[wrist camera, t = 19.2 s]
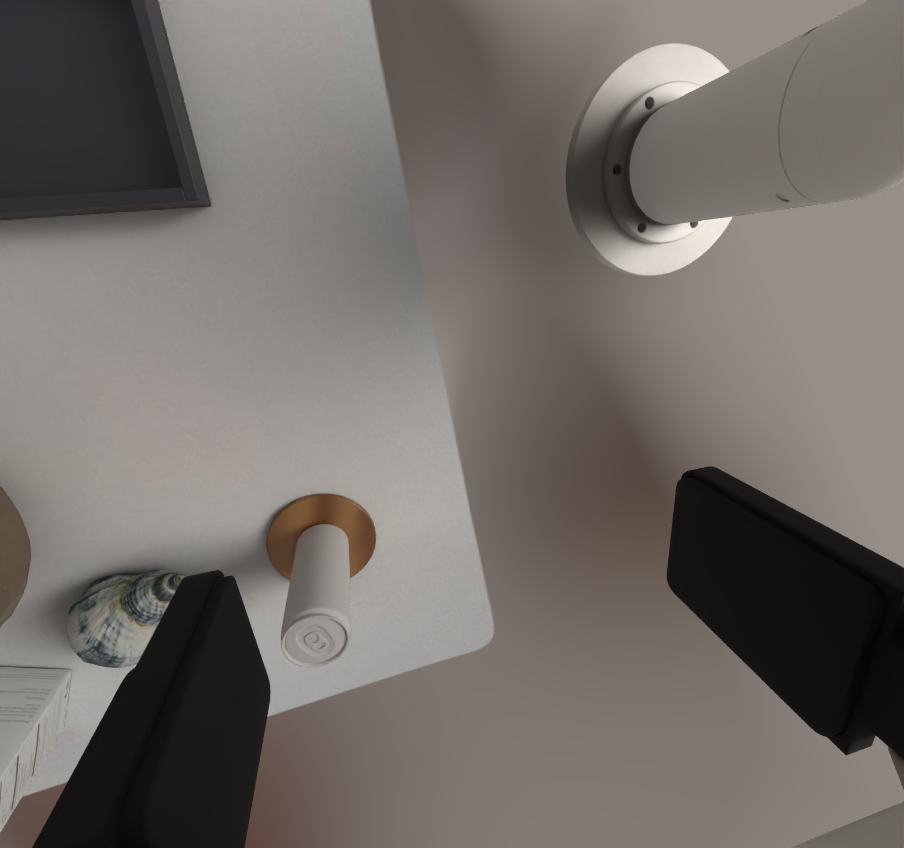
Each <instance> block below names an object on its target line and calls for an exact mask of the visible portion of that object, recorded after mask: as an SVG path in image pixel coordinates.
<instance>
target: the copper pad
mask: <svg viewBox="0 0 904 848" xmlns="http://www.w3.org/2000/svg"><path fill="white" fill-rule="evenodd" d="M320 524H330V525H334V526H337V527H339V528H340V529H342V530H343V531H344V532H345V533H346V535H347V538H348V542H349V567H350V578H351V577H352V576H354V575H355V574H357V573H358V572H359V571H360V570H362V569H363V567H364V566H365V565H366V564H367V563H368V561H369V560H370V558H371V556H372V554H373V551H374V549H375V544H376V534H375V527H374V524H373V521H372V519H371V517H370V516H369V514H368V513H367V512H366V511H365V509H364V508H363V507H361V506H360V505H359V504H357V503H356V502H354V501H353V500H351V499H348V498H346V497H343V496H339V495H334V494H316V495H310V496H306V497H303V498H301V499H298V500H296V501H294V502H292V503H291V504H289V505H288V506H286V507H285V508H284V509H283V510H282V511H281V512H280V513H279V514H278V515H277V516H276V518H275V519H274V521H273V522H272V524H271V526H270V529H269V533H268V536H267V551H268V555H269V558H270V560H271V562H272V564H273V565H274V567H275V568H276V569H277V570H278V571H279V572H280V573H281V574H282V575H284V576H285V577H286V578H288V579H291V573H292V568H293V562H294V556H295V550H296V545H297V541H298V539H299V537H300V536H301V534H302V533H303V532H304V531H306V530H307V529H308V528H310V527H312V526H315V525H320Z"/></svg>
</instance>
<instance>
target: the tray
mask: <svg viewBox="0 0 904 848" xmlns="http://www.w3.org/2000/svg"><path fill="white" fill-rule="evenodd" d="M205 206H211V202H210V199H209V195H208V191H207V187H206V183H205V179H204V175H203V172H202V168H201V164H200V160H199V156H198V152H197V149H196V145H195V141H194V137H193V133H192V129H191V126H190V122H189V118H188V114H187V110H186V106H185V103H184V99H183V95H182V91H181V87H180V83H179V79H178V76H177V72H176V68H175V64H174V60H173V56H172V53H171V49H170V45H169V41H168V37H167V33H166V30H165V26H164V22H163V18H162V14H161V10H160V6H159V3H158V0H0V220H10V219H25V218H40V217H55V216H70V215H85V214H100V213H115V212H130V211H145V210H160V209H175V208H190V207H205Z"/></svg>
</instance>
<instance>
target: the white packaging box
mask: <svg viewBox="0 0 904 848" xmlns="http://www.w3.org/2000/svg"><path fill="white" fill-rule="evenodd" d="M70 679H71V670H70V669H43V668H19V667H0V832H1V831H2V829H3V827H4V826H5V824H6V822H7V821H8V819H9V817H10V815H11V814H12V812H13V810H14V809H15V807H16V805H17V804H18V802H19V801H20V799H21V797H22V796H23V794H24V792H25V791H26V789H27V787H28V786H29V784H30V783H31V781H32V779H33V778H34V776H35V774H36V773H37V771H38V770H39V768H40V766H41V764H42V763H43V761H44V760H45V758H46V756H47V755H48V753H49V751H50V750H51V748H52V747H53V745H54V743H55V742H56V740H57V738H58V737H59V735H60V733H61V732H62V730H63V728H64V724H65V718H66V710H67V702H68V695H69V688H70Z"/></svg>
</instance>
